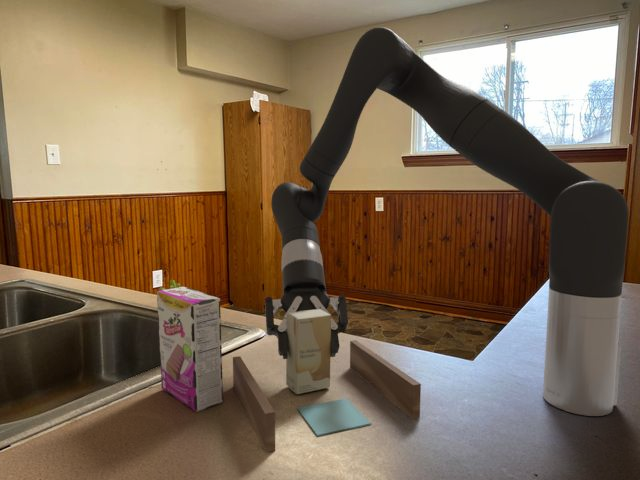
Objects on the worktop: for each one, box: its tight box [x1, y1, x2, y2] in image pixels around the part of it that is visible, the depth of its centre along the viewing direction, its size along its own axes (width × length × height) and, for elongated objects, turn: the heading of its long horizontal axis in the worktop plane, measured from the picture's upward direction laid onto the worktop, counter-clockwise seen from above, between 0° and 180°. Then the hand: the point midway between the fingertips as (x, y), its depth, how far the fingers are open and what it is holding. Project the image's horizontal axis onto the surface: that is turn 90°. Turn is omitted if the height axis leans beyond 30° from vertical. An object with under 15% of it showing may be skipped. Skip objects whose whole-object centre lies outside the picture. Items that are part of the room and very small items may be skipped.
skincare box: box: [285, 309, 332, 395], centre depth 72 cm, size 6×4×12 cm
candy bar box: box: [156, 286, 224, 413], centre depth 69 cm, size 11×5×16 cm, turn 45°
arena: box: [232, 339, 422, 453], centre depth 68 cm, size 22×20×5 cm
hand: (309, 355), depth 71 cm, fingers closed on skincare box, 7 cm apart
